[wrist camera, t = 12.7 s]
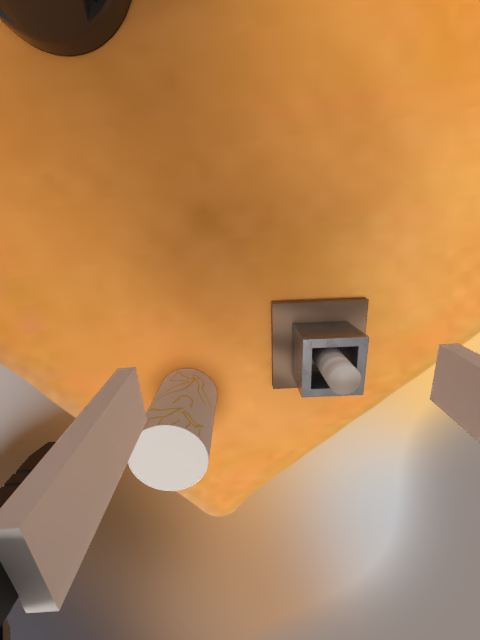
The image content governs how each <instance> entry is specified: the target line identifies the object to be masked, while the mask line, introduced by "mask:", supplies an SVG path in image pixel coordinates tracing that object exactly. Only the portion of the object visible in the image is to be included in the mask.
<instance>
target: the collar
mask: <svg viewBox="0 0 480 640" xmlns="http://www.w3.org/2000/svg"><path fill="white" fill-rule="evenodd" d="M368 342H369V337H368V336H367V335H366V334H364V333H363V332H362V331H360V330H359V329H357V328H356V327H355V326H353V325H352V324H351V323H349V322H348V321H331V322H307V323H292V375H293V377H294V380H295V382H296V385H297V387H298V390H299V392H300V394H301V397H323V396H347V395H363V392H364V382H365V372H366V362H367V352H368ZM326 347H337V348H338V350H339V351H340V352H341V353H342V354H343V355H344V356H345V357H346V358H347V359H348V360H349V361H350V362H351V364H352V365H353V366H354V367H355V368H356V369H357V370H358V371H359V373H360V375H361V382H360V385H359V387H358V388H357V389H356V390H355V391H354V392H352V393H350V394H346V395H341V394H337V393H335V392H333V391H332V390H331V388H330V387H329V385H328V384H327V382H326V380H325V379H324V377H323V376H322V374H321V372H320V371H319V369H318V368H317V366H316V365H312V348H326Z"/></svg>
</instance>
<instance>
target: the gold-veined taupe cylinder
mask: <svg viewBox="0 0 480 640" xmlns="http://www.w3.org/2000/svg"><path fill="white" fill-rule="evenodd" d="M216 400H217V390H216V387H215V384H214V382H213V381H212V380H211V378H210V377H209V376H207V375H206V374H205V373H203V372H201V371H199V370H196V369H189V368H185V369H179V370H176V371H174V372H172V373H170V374H169V375H168V376H167V377H166V378H165V379H164V381H163V382H162V384H161V386H160V388H159V390H158V392H157V394H156V396H155V397H154V399H153V401H152V403H151V405H150V407H149V409H148V411H147V413H146V417H147V421H146V424H145V426H144V428H143V430H142V432H141V434H140V437H139V439H138V441H137V443H136V445H135V447H134V450H133V452H132V454H131V456H130V458H129V460H128V464H129V467H130V469H131V471H132V472H133V474H134V475H135V476H136V477H137V478H138V479H139V480H140V481H141V482H143V483H144V484H146V485H148V486H150V487H153V488H155V489H159V490H165V491H177V490H182V489H186V488H188V487H190V486H192V485H194V484H196V483H197V482H198V481H199V480H200V479H201V478H202V477H203V476H204V474H205V472H206V470H207V467H208V462H209V454H210V446H211V439H212V431H213V423H214V416H215V408H216Z"/></svg>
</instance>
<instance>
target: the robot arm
mask: <svg viewBox="0 0 480 640" xmlns="http://www.w3.org/2000/svg"><path fill="white" fill-rule="evenodd" d="M129 4H130V0H0V20H2V21H3V22H4V23H5V24H6V25H7V26H8V27H9V28H10V29H11V30H12V31H13V32H14V33H16V34H17V35H18V36H19V37H20V38H22V39H23V40H24V41H26V42H27V43H29V44H31V45H32V46H34V47H36V48H38V49H40V50H43V51H46V52H49V53H52V54H57V55H79V54H83V53H86V52H89V51H92V50H94V49H96V48H97V47H99V46H101V45H102V44H103V43H105V42H106V41H107V40H108V39H109V38H110V37H111V36H112V35H113V34H114V33H115V31H116V30H117V29H118V27H119V26H120V24H121V22H122V21H123V19H124V17H125V14H126V12H127V10H128V7H129ZM430 400H431V401H432V402H434V403H435V404H436V405H437V406H438V407H439V408H440V409H442V410H443V411H444V412H445V413H446V414H447V415H448V416H450V417H451V418H452V419H453V420H454V421H455V422H456V423H458V424H459V425H460V426H461V427H462V428H463V429H464V430H466V431H467V432H468V433H469V434H470V435H471V436H472V437H474V438H475V439H476V440H477V441H478V442H479V443H480V355H479V354H477V353H475V352H473V351H471V350H469V349H467V348H465V347H464V346H462V345H460V344H458V343H454V344H441V345H439V350H438V356H437V361H436V368H435V373H434V379H433V384H432V391H431V395H430ZM146 421H147V417H146V412H145V408H144V403H143V399H142V394H141V390H140V385H139V381H138V376H137V372H136V367H133V368H120V369H117V370H116V372H115V373H114V374H113V375H112V376H111V377H110V379H109V380H108V381H107V382H106V383H105V385H104V386H103V387H102V388H101V389H100V391H99V392H98V393H97V394H96V395H95V396H94V398H93V399H92V400H91V401H90V402H89V404H88V405H87V406H86V407H85V408H84V410H83V411H82V412H81V413H80V414H79V415H78V417H77V418H76V419H75V420H74V421H73V423H72V424H71V425H70V426H69V427H68V429H67V430H66V431H65V432H64V433H63V434H62V436H61V437H60V438H59V439H58V441H57V442H48V443H47V444H45V445H44V446H43V447H41V448H40V449H39V450H37V451H36V452H34V453H33V454H32V455H30V456H29V457H28V459H27V460H26V461H25V462H24V463H23V464H22V465H21V466H20V468H19V469H18V470H17V472H16V474H13V475H12V476H11V477H10V478H9V480H8V481H7V482H6V483H5V486H4V487H1V489H0V640H10V626H9V623H8V620H7V618H6V617H7V615H8V614H9V612H10V610H11V608H12V607H13V605H14V603H15V602H16V600H17V598H18V599H19V600H20V602H21V604H22V606H23V608H24V610H25V611H26V613H33V612H48V611H59V610H60V607H61V605H62V603H63V601H64V599H65V597H66V594H67V592H68V590H69V588H70V586H71V584H72V582H73V579H74V577H75V575H76V573H77V571H78V569H79V566H80V564H81V562H82V559H83V558H84V556H85V553H86V551H87V549H88V547H89V544H90V543H91V540H92V538H93V536H94V534H95V532H96V529H97V527H98V525H99V523H100V521H101V519H102V517H103V515H104V512H105V510H106V508H107V506H108V504H109V502H110V499H111V497H112V495H113V493H114V491H115V489H116V486H117V484H118V482H119V480H120V478H121V475H122V473H123V471H124V469H125V467H126V465H127V463H128V460H129V458H130V456H131V454H132V452H133V450H134V447H135V445H136V443H137V441H138V439H139V437H140V434H141V432H142V430H143V428H144V426H145V424H146Z"/></svg>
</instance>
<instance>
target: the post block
mask: <svg viewBox="0 0 480 640" xmlns="http://www.w3.org/2000/svg"><path fill="white" fill-rule="evenodd" d="M368 300H369V299H366V298H343V299H321V300H299V301H277V302H271V314H272V385H273V389H281V388H298V387H297V385H296V382H295V380H294V377H293V375H292V323H307V322H331V321H348V322H349V323H351V324H352V325H353V326H355V327H356V328H357V329H359V330H360V331H362V332H363V333H364V334H365V332H366V322H367V311H368ZM312 365H316V366H317V368H318V369H319V371H320V372H321V374H322V376H323V377H324V379H325V380H326V382H327V384H328V385H329V387H330V388H331V390H332V391H333V392H335V393H337V394H341V395H346V394H350V393H352V392H354V391H355V390H356V389H357V388H358V387H359V385H360V382H361V375H360V373H359V371H358V370H357V369H356V368H355V367H354V366H353V365H352V364H351V362H350V361H349V360H348V359H347V358H346V357H345V356H344V355H343V354H342V353H341V352H340V351H339V350H338V348H337V347H326V348H312Z"/></svg>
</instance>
